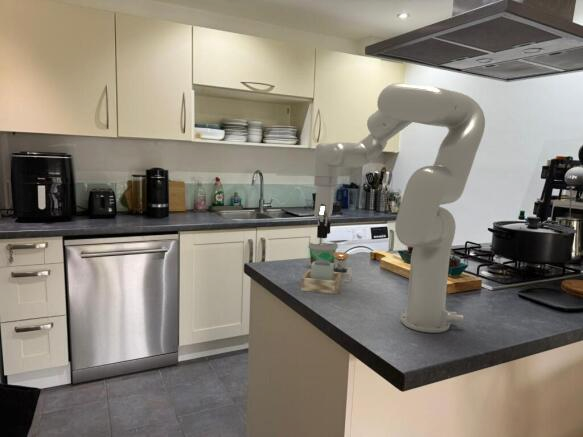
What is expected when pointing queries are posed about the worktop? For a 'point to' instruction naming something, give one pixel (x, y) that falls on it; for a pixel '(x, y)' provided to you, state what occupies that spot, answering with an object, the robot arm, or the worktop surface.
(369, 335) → the worktop surface
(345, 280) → the plunger base
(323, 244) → the food container
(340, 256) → the plunger
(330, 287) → the bay
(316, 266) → the pale green box
